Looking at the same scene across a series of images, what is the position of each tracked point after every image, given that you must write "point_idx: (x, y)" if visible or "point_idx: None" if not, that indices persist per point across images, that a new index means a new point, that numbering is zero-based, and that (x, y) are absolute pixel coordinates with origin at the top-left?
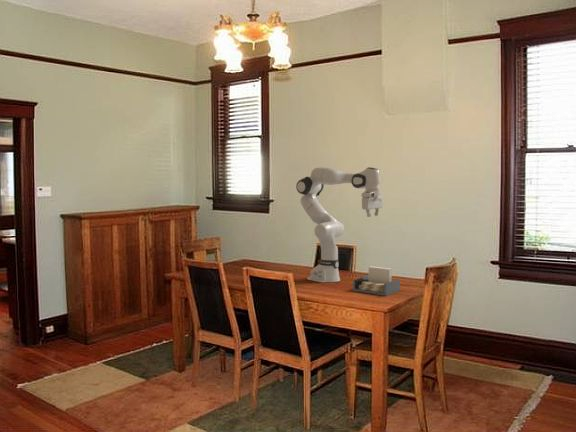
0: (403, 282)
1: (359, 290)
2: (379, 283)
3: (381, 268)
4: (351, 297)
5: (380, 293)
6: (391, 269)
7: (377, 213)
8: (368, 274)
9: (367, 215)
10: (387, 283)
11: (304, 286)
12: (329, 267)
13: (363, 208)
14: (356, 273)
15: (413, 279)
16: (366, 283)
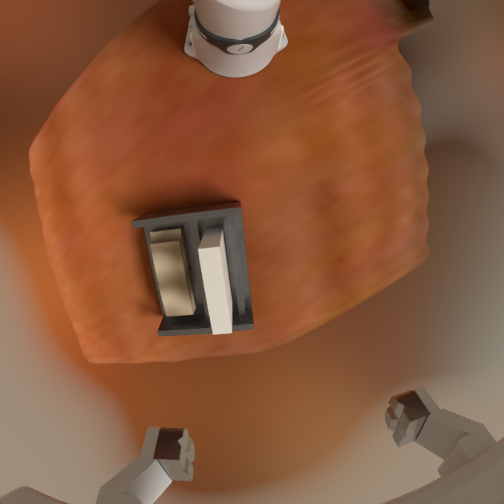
0: (369, 250)
1: (146, 238)
2: (181, 295)
3: (207, 305)
4: (91, 258)
5: (161, 305)
6: (231, 331)
7: (408, 436)
8: (201, 240)
9: (148, 440)
10: (169, 334)
11: (105, 62)
12: (206, 41)
13: (20, 499)
14: (394, 59)
15: (419, 248)
16: (154, 263)
